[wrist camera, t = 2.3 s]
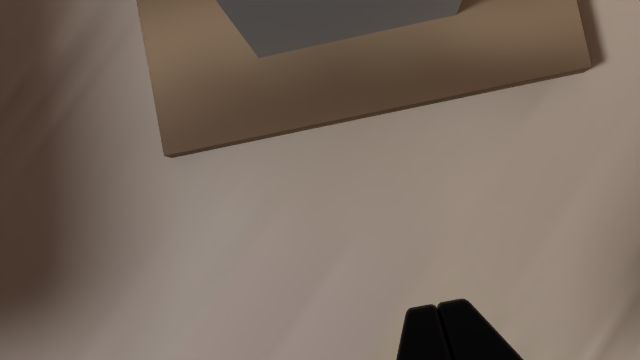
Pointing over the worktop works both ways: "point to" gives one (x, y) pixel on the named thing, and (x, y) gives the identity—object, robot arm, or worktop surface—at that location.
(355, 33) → the tile
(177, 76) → the board
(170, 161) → the worktop surface
